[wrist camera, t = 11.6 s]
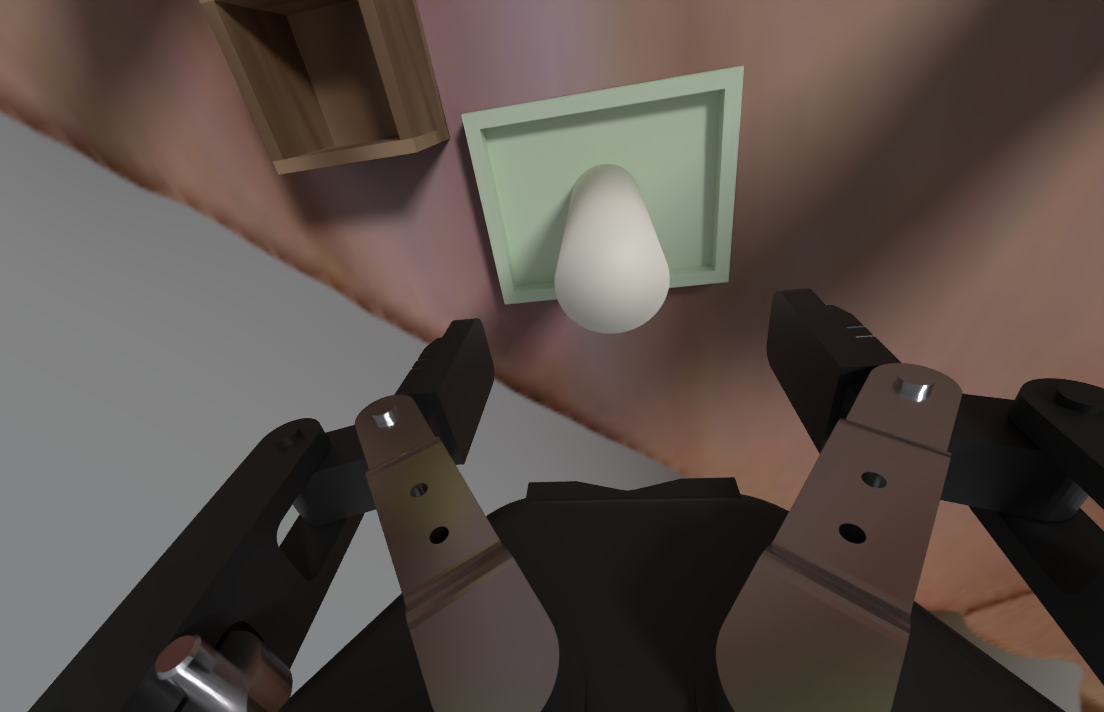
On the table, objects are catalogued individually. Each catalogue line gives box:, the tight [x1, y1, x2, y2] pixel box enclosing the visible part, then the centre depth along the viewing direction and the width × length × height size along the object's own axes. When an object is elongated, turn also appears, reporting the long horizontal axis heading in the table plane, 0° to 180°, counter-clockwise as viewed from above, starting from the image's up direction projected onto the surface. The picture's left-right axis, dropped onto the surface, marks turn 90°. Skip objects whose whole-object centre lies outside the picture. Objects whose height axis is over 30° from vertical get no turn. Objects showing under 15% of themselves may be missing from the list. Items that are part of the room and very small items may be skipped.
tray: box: [461, 66, 744, 304], centre depth 25 cm, size 14×11×2 cm
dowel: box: [554, 164, 670, 334], centre depth 20 cm, size 4×4×12 cm
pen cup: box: [199, 0, 450, 175], centre depth 21 cm, size 7×7×6 cm
